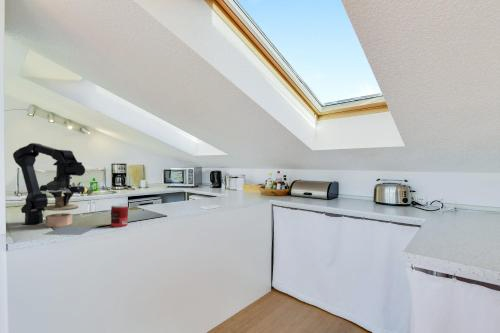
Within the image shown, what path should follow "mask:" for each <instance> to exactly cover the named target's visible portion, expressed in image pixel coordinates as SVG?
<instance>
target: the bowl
mask: <svg viewBox="0 0 500 333" xmlns="http://www.w3.org/2000/svg"><path fill="white" fill-rule="evenodd" d="M44 224H45V226H46V227H49V228H51V227H55V228H57V227H65V226H70V225H71V224H72V225H73V214H72V213H69V212H68V213H67V212H65V213H64V212H63V213H52V214H48V215H45V221H44Z"/></svg>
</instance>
